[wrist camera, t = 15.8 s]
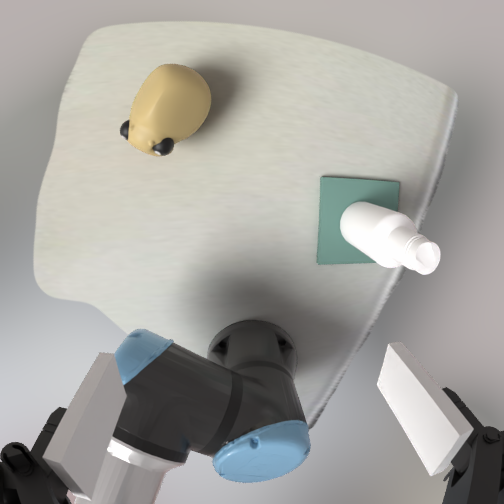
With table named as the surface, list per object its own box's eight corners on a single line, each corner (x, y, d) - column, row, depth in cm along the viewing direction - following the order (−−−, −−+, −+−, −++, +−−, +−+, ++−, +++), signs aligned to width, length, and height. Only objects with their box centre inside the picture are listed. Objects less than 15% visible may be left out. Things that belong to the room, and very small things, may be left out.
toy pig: (124, 136, 38) (94, 128, 28) (169, 67, 36) (152, 40, 26) (179, 168, 40) (163, 168, 30) (225, 97, 38) (224, 76, 28)
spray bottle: (357, 254, 44) (421, 302, 27) (330, 224, 43) (389, 261, 26) (386, 222, 43) (460, 256, 26) (360, 191, 42) (433, 210, 24)
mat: (389, 260, 46) (392, 262, 45) (316, 262, 45) (318, 264, 44) (396, 182, 43) (399, 182, 42) (320, 176, 42) (322, 177, 41)
